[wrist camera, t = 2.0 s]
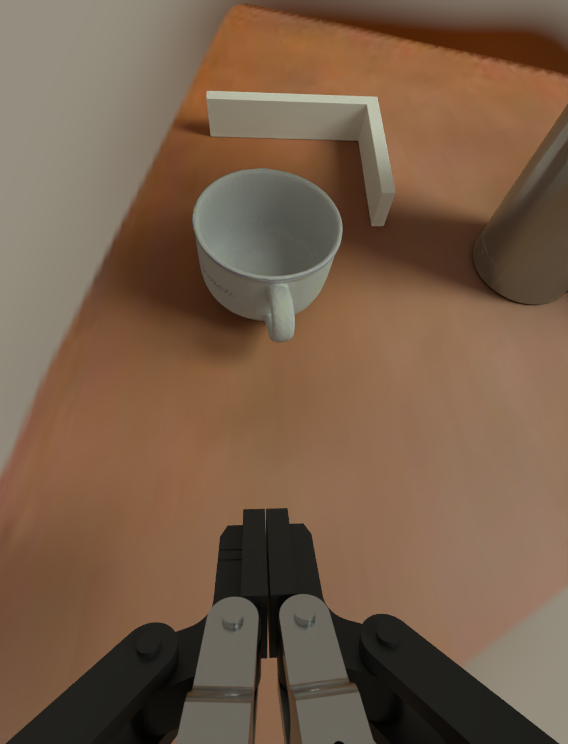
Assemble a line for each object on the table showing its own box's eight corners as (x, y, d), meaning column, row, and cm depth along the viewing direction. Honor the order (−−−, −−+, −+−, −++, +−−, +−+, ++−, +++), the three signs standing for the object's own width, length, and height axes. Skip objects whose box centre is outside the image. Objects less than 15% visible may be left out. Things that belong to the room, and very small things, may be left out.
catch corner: (367, 133, 47) (377, 96, 43) (383, 226, 41) (395, 193, 38) (211, 128, 46) (207, 90, 42) (205, 223, 40) (200, 189, 37)
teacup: (211, 232, 40) (201, 158, 33) (327, 241, 40) (343, 169, 33) (192, 367, 34) (174, 313, 27) (327, 376, 34) (346, 325, 27)
